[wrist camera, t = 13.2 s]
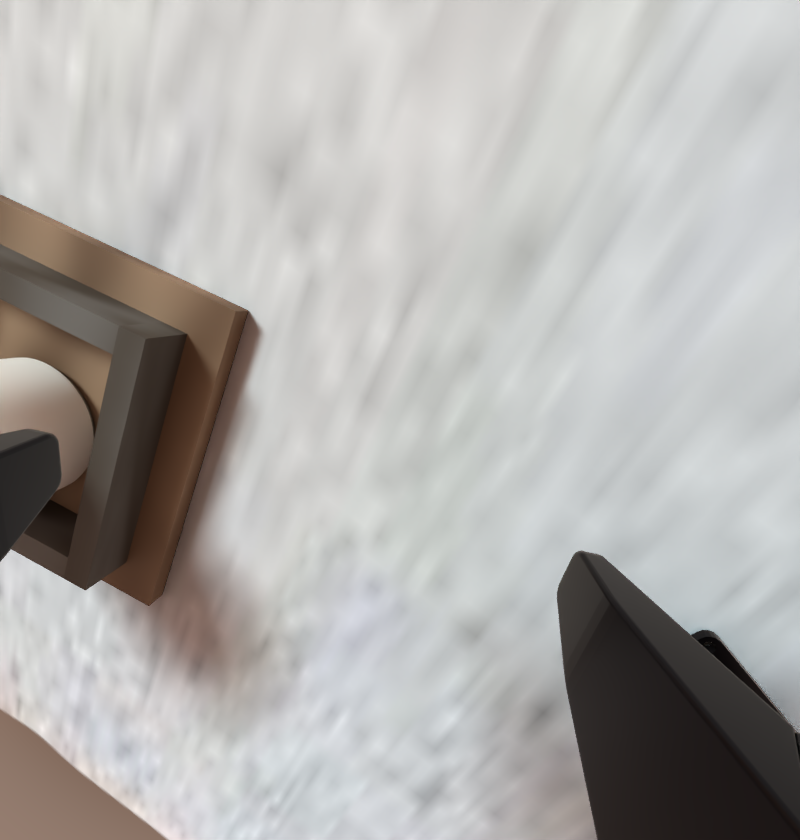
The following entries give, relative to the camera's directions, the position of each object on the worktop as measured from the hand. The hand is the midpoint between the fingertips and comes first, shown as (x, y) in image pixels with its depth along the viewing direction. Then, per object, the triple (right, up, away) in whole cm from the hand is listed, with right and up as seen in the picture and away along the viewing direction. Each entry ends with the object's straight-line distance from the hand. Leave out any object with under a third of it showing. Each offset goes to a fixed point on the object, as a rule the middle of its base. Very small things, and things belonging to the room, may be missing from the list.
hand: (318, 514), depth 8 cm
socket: (-15, +3, +16) cm, 22 cm away
